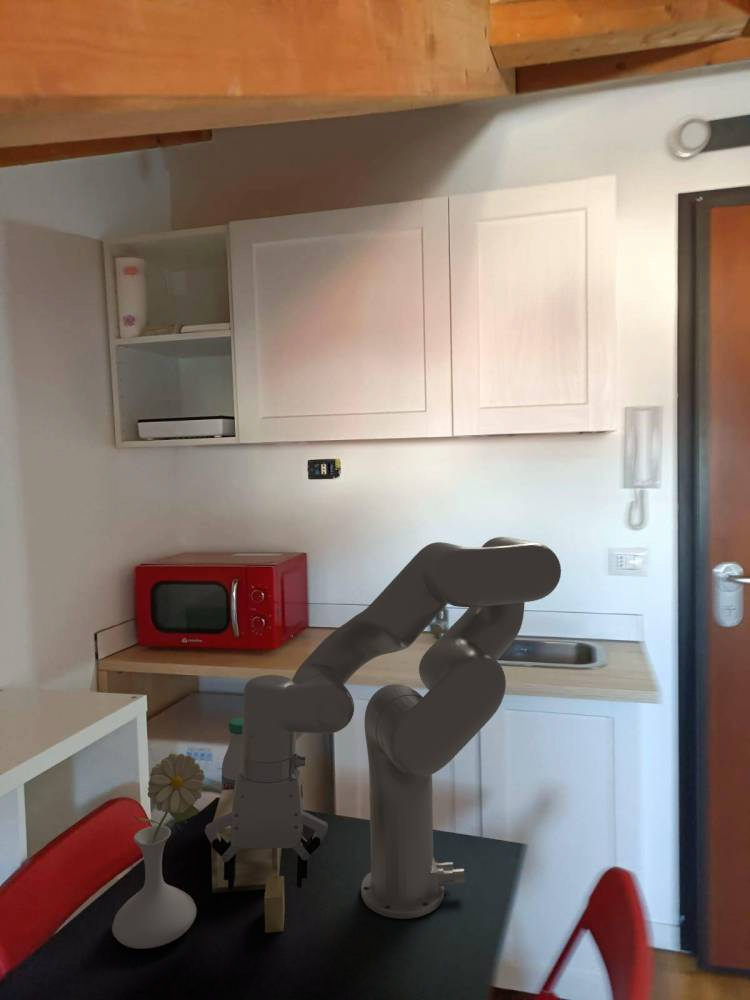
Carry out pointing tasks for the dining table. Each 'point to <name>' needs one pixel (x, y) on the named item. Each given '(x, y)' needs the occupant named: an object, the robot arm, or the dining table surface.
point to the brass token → (274, 904)
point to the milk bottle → (233, 754)
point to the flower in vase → (158, 905)
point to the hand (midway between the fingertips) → (265, 883)
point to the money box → (242, 858)
